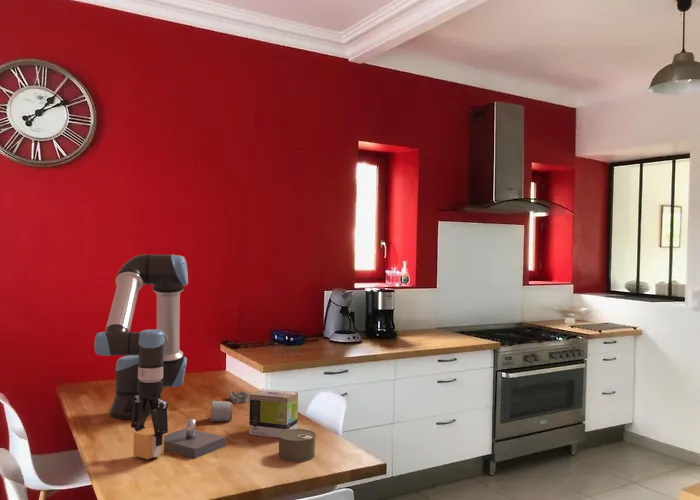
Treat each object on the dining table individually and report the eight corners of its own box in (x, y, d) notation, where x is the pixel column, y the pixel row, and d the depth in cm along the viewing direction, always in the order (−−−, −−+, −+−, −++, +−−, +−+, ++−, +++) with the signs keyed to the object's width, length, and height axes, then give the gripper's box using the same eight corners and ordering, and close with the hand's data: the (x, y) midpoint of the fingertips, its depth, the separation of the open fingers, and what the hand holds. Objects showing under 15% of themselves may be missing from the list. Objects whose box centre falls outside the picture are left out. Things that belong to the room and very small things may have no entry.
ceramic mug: (232, 423, 218) (232, 402, 219) (210, 424, 217) (210, 403, 217) (231, 415, 229) (232, 396, 229) (210, 416, 227) (211, 397, 227)
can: (292, 447, 193) (293, 426, 193) (322, 454, 187) (322, 433, 187) (270, 457, 183) (270, 436, 183) (301, 465, 177) (301, 443, 177)
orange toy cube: (133, 455, 178) (133, 432, 178) (149, 449, 184) (150, 427, 184) (147, 459, 175) (148, 436, 175) (163, 453, 181) (164, 430, 181)
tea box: (298, 432, 210) (299, 391, 210) (286, 440, 200) (287, 397, 200) (261, 427, 214) (262, 387, 215) (248, 434, 205) (249, 393, 205)
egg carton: (228, 398, 256) (228, 389, 256) (245, 397, 259) (245, 388, 259) (232, 404, 246) (233, 395, 246) (250, 403, 249) (250, 393, 249)
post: (183, 438, 190) (184, 420, 190) (190, 435, 193) (191, 418, 193) (190, 439, 188) (191, 421, 189) (197, 437, 191) (197, 419, 191)
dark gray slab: (154, 447, 189) (154, 438, 189) (186, 436, 201) (186, 428, 201) (195, 458, 180) (195, 448, 180) (225, 446, 192) (225, 437, 192)
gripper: (119, 377, 181) (117, 450, 181) (163, 386, 171) (161, 463, 171) (138, 373, 187) (136, 444, 187) (181, 381, 178) (179, 456, 178)
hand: (148, 453), depth 179 cm, fingers closed on orange toy cube, 6 cm apart
